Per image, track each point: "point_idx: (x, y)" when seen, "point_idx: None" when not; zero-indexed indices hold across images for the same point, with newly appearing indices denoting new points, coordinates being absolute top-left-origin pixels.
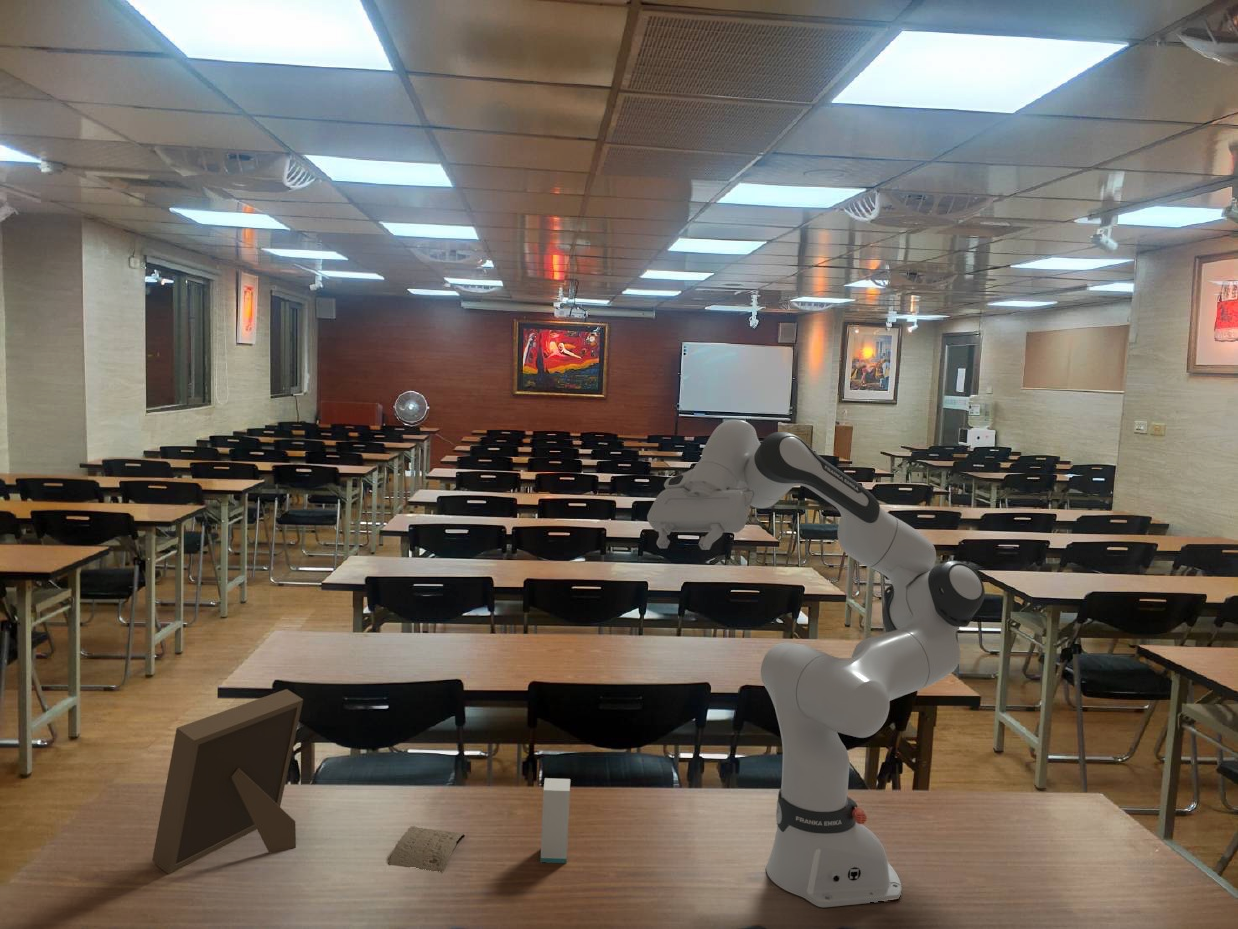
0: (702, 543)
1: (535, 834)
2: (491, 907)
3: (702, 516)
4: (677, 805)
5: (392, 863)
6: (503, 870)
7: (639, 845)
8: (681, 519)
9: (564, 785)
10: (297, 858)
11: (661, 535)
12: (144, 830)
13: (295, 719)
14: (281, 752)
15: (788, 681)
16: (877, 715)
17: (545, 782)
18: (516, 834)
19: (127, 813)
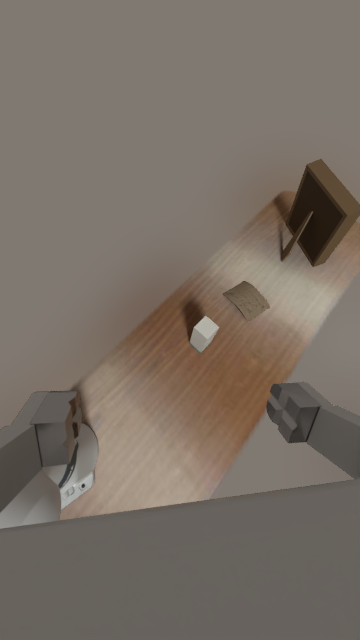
0: (52, 393)
1: (225, 350)
2: (184, 293)
3: (47, 583)
4: (195, 462)
5: (243, 282)
6: (205, 315)
7: (174, 391)
8: (304, 493)
9: (202, 329)
10: (271, 258)
11: (325, 407)
12: None
13: (338, 223)
14: (327, 234)
15: None
16: None
17: (213, 323)
18: (231, 342)
19: None
